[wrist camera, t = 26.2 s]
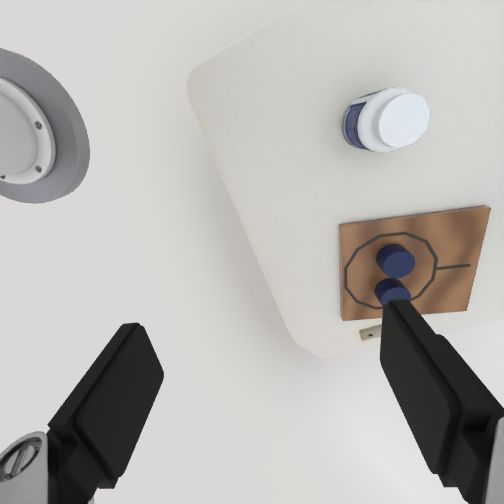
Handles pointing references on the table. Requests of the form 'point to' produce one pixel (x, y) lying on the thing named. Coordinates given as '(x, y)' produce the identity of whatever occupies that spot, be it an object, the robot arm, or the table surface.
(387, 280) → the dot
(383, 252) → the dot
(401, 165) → the table surface
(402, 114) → the pill bottle
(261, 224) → the table surface
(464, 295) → the face mat
